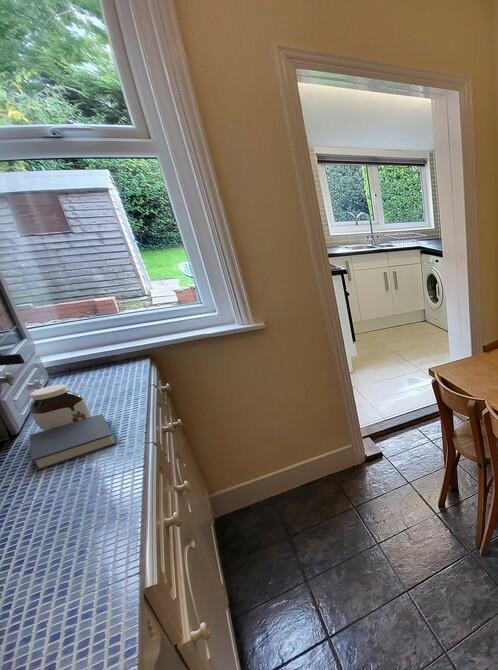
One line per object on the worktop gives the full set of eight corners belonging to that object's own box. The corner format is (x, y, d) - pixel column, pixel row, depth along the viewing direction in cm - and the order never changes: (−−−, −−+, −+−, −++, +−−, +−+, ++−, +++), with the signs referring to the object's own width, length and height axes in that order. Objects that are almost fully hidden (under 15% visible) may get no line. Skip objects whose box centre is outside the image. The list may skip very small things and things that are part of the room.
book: (35, 445, 106) (29, 435, 105) (107, 423, 116) (102, 413, 114) (38, 470, 95) (30, 460, 94) (116, 444, 104) (111, 434, 103)
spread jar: (55, 438, 109) (31, 399, 104) (31, 433, 113) (6, 395, 108) (107, 416, 119) (88, 380, 114) (84, 412, 123) (64, 377, 118)
